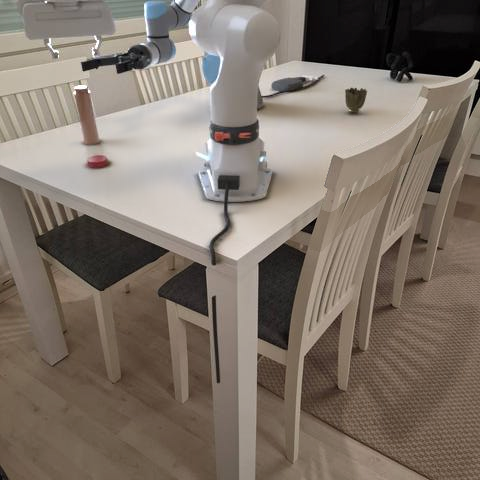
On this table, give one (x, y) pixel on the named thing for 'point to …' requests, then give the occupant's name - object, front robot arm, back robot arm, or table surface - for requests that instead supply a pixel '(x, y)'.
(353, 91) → the olive tapered piece
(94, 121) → the jar
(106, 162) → the lid
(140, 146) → the table surface
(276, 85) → the spray bottle
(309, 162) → the table surface
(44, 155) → the table surface
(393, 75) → the squiggle
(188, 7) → the back robot arm
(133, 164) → the table surface
